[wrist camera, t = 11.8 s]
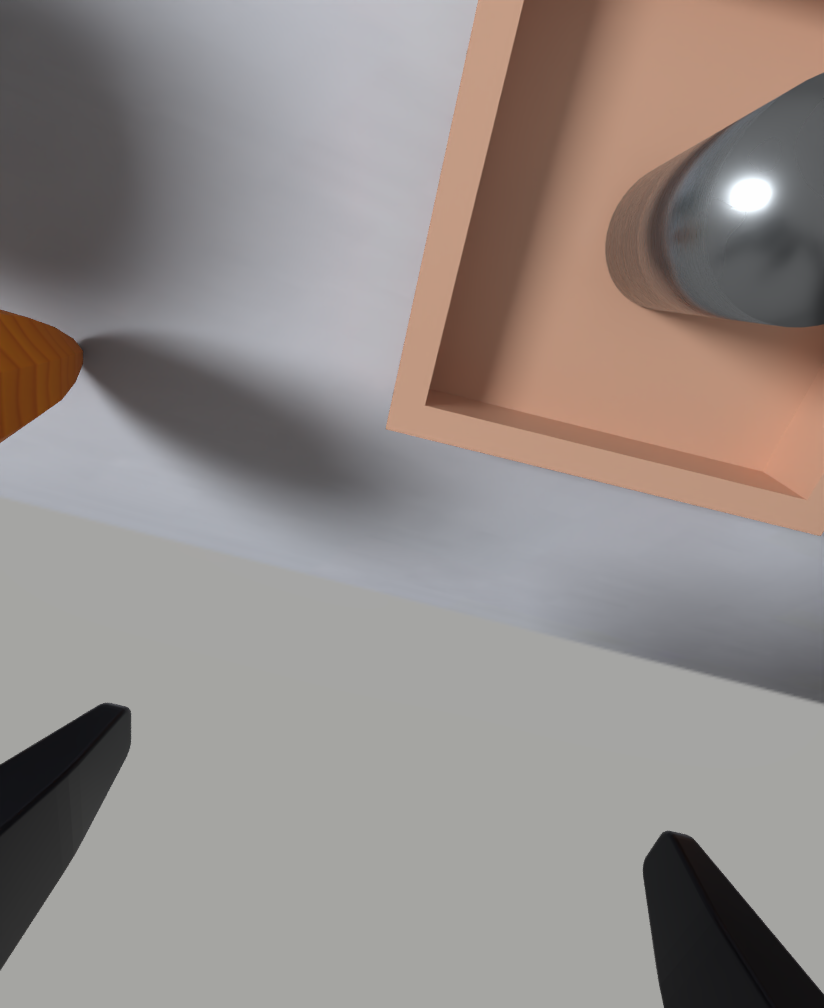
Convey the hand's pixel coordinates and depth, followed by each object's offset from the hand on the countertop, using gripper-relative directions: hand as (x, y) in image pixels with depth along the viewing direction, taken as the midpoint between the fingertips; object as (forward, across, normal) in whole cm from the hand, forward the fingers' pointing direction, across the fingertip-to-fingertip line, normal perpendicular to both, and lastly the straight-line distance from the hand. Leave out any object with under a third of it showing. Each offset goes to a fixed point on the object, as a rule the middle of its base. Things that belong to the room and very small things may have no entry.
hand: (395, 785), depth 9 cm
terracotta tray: (+13, -5, -10) cm, 17 cm away
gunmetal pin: (+12, -5, -10) cm, 16 cm away
